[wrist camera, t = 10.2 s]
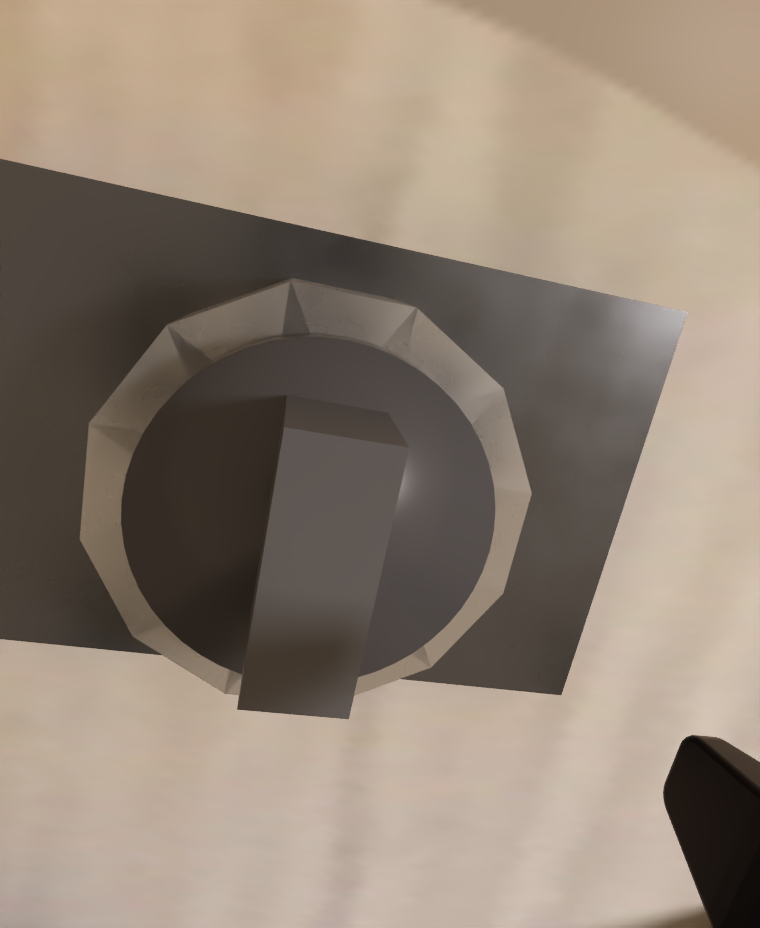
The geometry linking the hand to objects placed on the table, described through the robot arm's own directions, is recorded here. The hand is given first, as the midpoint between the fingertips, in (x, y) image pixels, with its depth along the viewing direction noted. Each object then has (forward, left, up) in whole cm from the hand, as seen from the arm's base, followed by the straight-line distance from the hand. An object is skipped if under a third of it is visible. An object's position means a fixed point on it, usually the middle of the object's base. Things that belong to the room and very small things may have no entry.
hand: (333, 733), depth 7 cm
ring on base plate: (0, 0, -12) cm, 12 cm away
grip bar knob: (0, 0, -10) cm, 10 cm away
